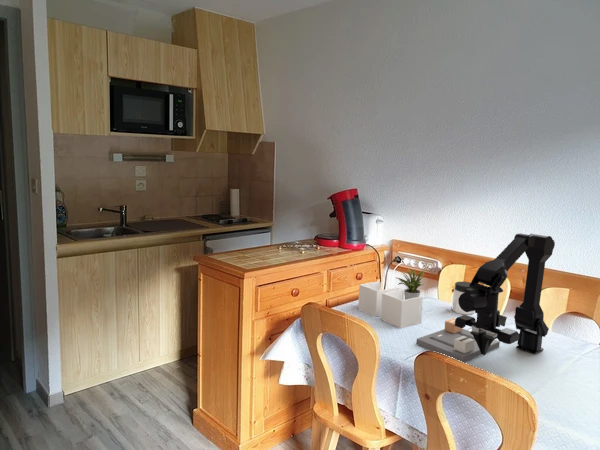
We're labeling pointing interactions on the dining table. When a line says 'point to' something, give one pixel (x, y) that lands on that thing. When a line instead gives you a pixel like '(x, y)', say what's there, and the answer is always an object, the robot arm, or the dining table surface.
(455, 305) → the jar
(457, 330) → the right fader
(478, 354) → the mixer board
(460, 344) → the left fader
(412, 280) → the house plant
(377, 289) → the white cube planter
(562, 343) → the dining table surface
